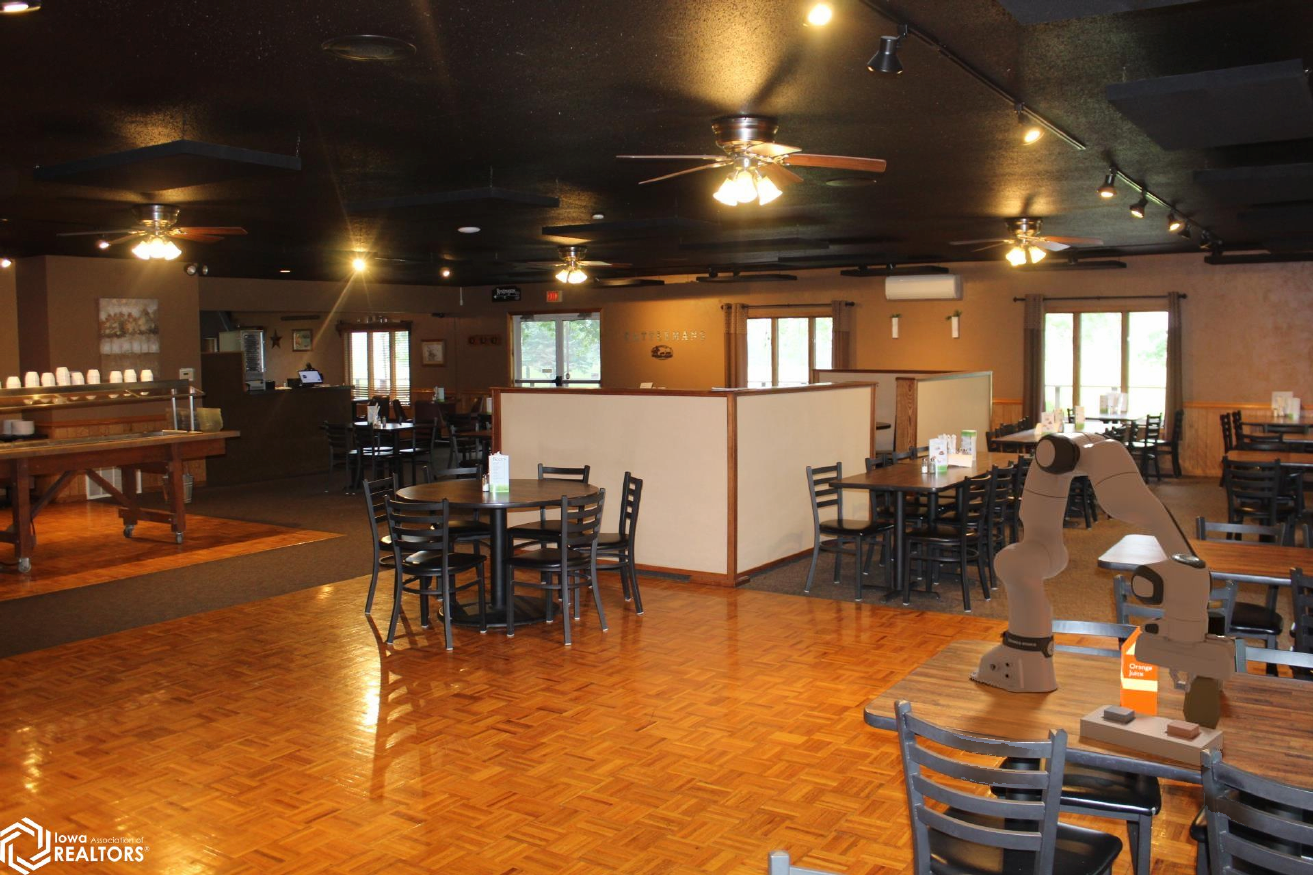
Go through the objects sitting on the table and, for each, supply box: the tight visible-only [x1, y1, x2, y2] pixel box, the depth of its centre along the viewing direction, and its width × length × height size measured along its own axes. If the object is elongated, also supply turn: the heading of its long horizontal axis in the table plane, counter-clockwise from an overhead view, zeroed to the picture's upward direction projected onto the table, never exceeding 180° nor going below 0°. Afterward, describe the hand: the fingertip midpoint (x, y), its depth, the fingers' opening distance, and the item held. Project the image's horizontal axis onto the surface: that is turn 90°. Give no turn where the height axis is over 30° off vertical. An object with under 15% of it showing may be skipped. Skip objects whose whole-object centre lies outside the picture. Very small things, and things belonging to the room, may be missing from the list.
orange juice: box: [1119, 624, 1159, 716], centre depth 259 cm, size 8×9×20 cm
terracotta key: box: [1167, 718, 1199, 740], centre depth 231 cm, size 5×5×4 cm
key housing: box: [1079, 704, 1224, 767], centre depth 236 cm, size 26×14×4 cm, turn 44°
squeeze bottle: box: [1182, 675, 1222, 730], centre depth 244 cm, size 8×8×18 cm
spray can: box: [1207, 610, 1226, 692], centre depth 274 cm, size 7×7×20 cm
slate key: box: [1104, 704, 1135, 724], centre depth 241 cm, size 5×5×4 cm
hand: (1181, 690), depth 230 cm, fingers closed
